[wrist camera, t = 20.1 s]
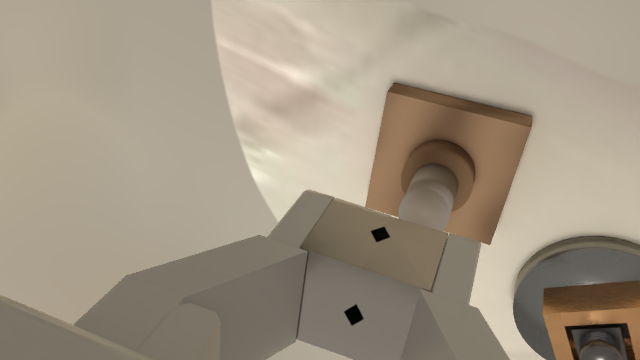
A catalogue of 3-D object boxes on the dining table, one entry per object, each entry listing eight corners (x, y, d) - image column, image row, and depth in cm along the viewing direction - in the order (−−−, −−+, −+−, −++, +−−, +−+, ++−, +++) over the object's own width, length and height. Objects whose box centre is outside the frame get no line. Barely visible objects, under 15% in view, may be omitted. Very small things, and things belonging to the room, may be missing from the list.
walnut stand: (532, 116, 39) (526, 170, 32) (492, 231, 44) (480, 299, 37) (394, 82, 41) (360, 126, 34) (372, 195, 46) (339, 252, 39)
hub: (672, 225, 39) (692, 287, 33) (697, 357, 43) (718, 432, 37) (498, 247, 44) (489, 302, 39) (533, 361, 48) (530, 427, 42)
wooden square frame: (638, 280, 39) (644, 307, 37) (653, 349, 41) (659, 380, 39) (543, 288, 42) (542, 314, 40) (562, 352, 44) (562, 380, 42)
